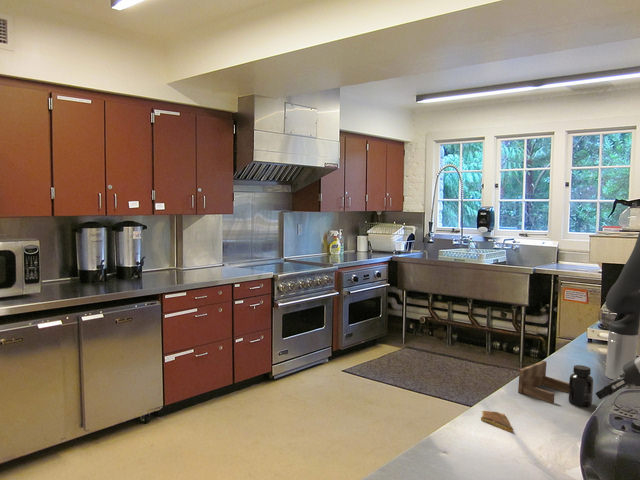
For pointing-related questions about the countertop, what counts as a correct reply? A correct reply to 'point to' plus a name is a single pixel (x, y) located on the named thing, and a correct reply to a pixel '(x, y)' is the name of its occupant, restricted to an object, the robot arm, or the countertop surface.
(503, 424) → the shard
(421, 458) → the countertop surface
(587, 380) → the supplement bottle
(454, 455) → the countertop surface
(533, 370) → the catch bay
